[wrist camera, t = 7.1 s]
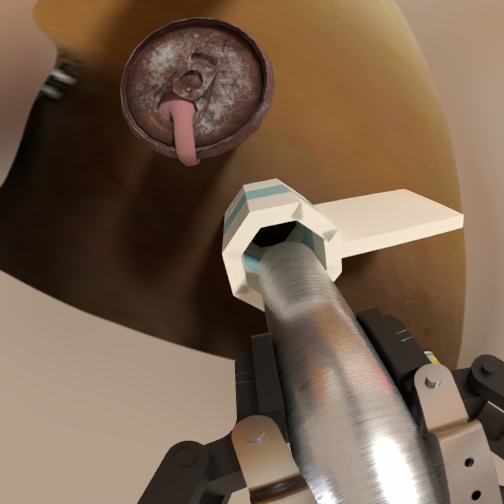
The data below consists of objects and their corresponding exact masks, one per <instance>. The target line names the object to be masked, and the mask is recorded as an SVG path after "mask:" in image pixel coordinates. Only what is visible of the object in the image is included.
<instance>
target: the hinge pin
mask: <svg viewBox="0 0 504 504" xmlns="http://www.w3.org/2000/svg"><path fill="white" fill-rule="evenodd" d="M258 278H259V283H260V288H261V294H262V299H263V304H264V309H265V315H266V320H267V325H268V331H269V332H270V335H271V340H272V345H273V350H274V355H275V360H276V365H277V370H278V375H279V380H280V385H281V391H282V396H283V401H284V406H285V411H286V416H287V432H288V437H289V442H290V448H291V453H292V457H293V459H294V461H295V463H296V465H297V467H298V469H299V471H300V473H301V475H302V477H303V478H304V479H305V480H306V482H307V484H308V485H309V487H310V489H311V491H312V493H313V495H314V496H315V498H316V500H317V502H318V504H444V501H443V497H442V493H441V489H440V485H439V481H438V476H437V473H436V471H435V467H434V464H433V461H432V458H431V455H430V453H429V450H428V447H427V445H426V442H425V440H424V438H423V435H422V433H421V431H420V430H419V428H418V426H417V424H416V422H415V420H414V418H413V416H412V414H411V412H410V411H409V409H408V407H407V405H406V403H405V401H404V399H403V398H402V396H401V394H400V392H399V390H398V389H397V387H396V385H395V383H394V381H393V380H392V378H391V376H390V374H389V373H388V371H387V369H386V367H385V366H384V364H383V362H382V361H381V359H380V357H379V355H378V354H377V352H376V350H375V349H374V347H373V345H372V344H371V342H370V340H369V339H368V337H367V335H366V334H365V332H364V330H363V329H362V327H361V325H360V324H359V322H358V321H357V319H356V317H355V316H354V314H353V312H352V311H351V309H350V308H349V306H348V305H347V303H346V301H345V300H344V298H343V297H342V295H341V293H340V292H339V290H338V289H337V287H336V286H335V284H334V283H333V281H332V280H331V278H330V276H329V275H328V273H327V272H326V270H325V269H324V267H323V266H322V264H321V263H320V261H319V260H318V258H317V257H316V255H315V254H314V252H313V251H312V250H311V249H310V248H309V247H308V246H306V245H304V244H302V243H299V242H294V241H287V242H282V243H279V244H276V245H274V246H273V247H271V248H270V249H268V250H267V251H266V252H265V254H264V255H263V256H262V258H261V260H260V262H259V265H258Z"/></svg>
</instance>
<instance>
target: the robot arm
mask: <svg viewBox="0 0 504 504" xmlns="http://www.w3.org/2000/svg"><path fill="white" fill-rule="evenodd" d="M356 319H357V321H358V322H359V324H360V325H361V327H362V329H363V330H364V332H365V334H366V335H367V337H368V339H369V340H370V342H371V344H372V345H373V347H374V349H375V350H376V352H377V354H378V355H379V357H380V359H381V361H382V362H383V364H384V366H385V367H386V369H387V371H388V373H389V374H390V376H391V378H392V380H393V381H394V383H395V385H396V387H397V389H398V390H399V392H400V394H401V396H402V398H403V399H404V401H405V403H406V405H407V407H408V409H409V411H410V412H411V414H412V416H413V418H414V420H415V422H416V424H417V426H418V428H419V430H420V431H421V433H422V435H423V438H424V440H425V442H426V445H427V447H428V450H429V453H430V455H431V458H432V461H433V464H434V467H435V471H436V473H437V476H438V481H439V485H440V489H441V493H442V497H443V501H444V504H504V486H501V485H499V483H498V479H497V475H496V470H495V467H494V463H493V459H492V455H491V452H490V450H491V451H492V452H493V453H495V454H496V455H498V456H499V457H500V458H502V459H503V460H504V413H503V412H501V411H500V410H498V409H497V408H495V407H493V406H492V405H490V404H489V403H488V401H490V402H492V403H493V404H495V405H496V406H498V407H499V408H501V409H502V410H504V362H503V361H502V360H500V359H498V358H496V357H495V356H492V355H481V356H479V357H477V358H476V359H475V360H474V361H473V363H472V366H471V367H470V368H465V369H459V370H453V371H449V370H448V369H447V368H446V367H445V366H443V365H440V364H433V363H432V362H431V361H430V360H429V358H428V357H427V355H426V354H425V353H424V351H423V350H422V349H421V347H420V346H419V345H418V343H417V342H416V341H415V339H414V338H412V335H411V334H410V333H409V332H408V331H407V330H406V328H405V326H404V325H403V324H402V323H401V321H400V320H398V319H396V318H395V317H393V316H391V315H387V316H383V315H382V313H381V312H380V311H379V309H378V308H377V307H376V306H373V307H369V308H366V309H363V310H359V311H357V314H356ZM251 342H252V350H248V351H242V352H240V353H239V355H238V357H237V359H236V361H235V374H236V376H235V380H236V403H237V404H236V405H237V421H236V424H235V427H234V428H233V430H232V431H231V432H230V433H229V434H228V435H226V436H225V437H223V438H221V439H219V440H216V441H214V442H211V443H208V444H206V445H202V444H200V443H198V442H195V441H183V442H179V443H177V444H175V445H174V446H172V447H171V448H170V449H169V451H168V452H167V453H166V455H165V457H164V459H163V460H162V462H161V464H160V466H159V468H158V469H157V471H156V472H155V474H154V476H153V478H152V479H151V481H150V483H149V485H148V486H147V488H146V490H145V491H144V493H143V495H142V496H141V498H140V500H139V501H138V503H137V504H227V503H228V501H229V499H230V496H231V494H232V493H233V492H235V491H238V490H240V489H243V488H245V487H248V489H249V492H250V502H251V504H318V502H317V500H316V498H315V496H314V495H313V493H312V491H311V489H310V487H309V485H308V484H307V482H306V480H305V479H304V478H303V477H302V475H301V473H300V471H299V469H298V467H297V465H296V463H295V461H294V459H293V457H292V455H291V453H290V451H289V449H288V447H287V444H286V443H290V442H289V437H288V432H287V416H286V411H285V406H284V401H283V396H282V391H281V385H280V380H279V375H278V370H277V365H276V360H275V355H274V350H273V345H272V340H271V335H270V332H269V333H264V334H260V335H255V336H251Z"/></svg>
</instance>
